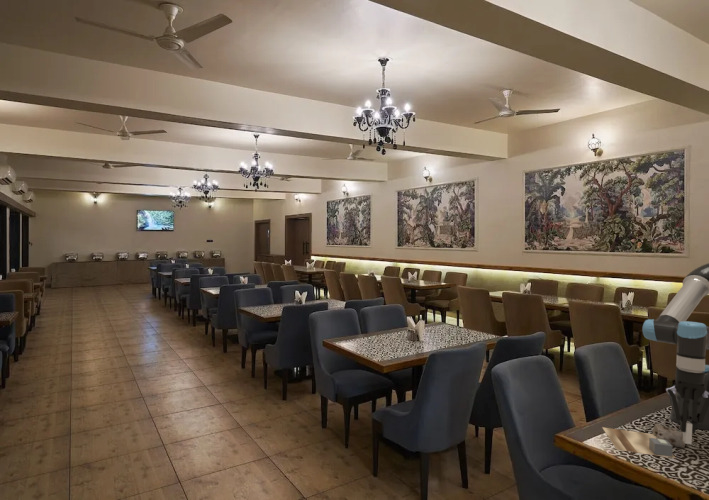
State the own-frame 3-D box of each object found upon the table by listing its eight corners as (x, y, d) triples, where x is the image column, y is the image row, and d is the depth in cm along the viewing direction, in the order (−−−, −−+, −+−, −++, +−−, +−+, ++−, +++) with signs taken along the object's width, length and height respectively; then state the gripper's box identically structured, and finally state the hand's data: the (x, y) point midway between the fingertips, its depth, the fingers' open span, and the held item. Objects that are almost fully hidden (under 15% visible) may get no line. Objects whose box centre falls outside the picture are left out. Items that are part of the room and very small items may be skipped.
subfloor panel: (654, 436, 162) (654, 434, 162) (676, 460, 143) (676, 458, 143) (602, 429, 167) (602, 427, 167) (616, 451, 148) (616, 449, 148)
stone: (653, 422, 165) (686, 429, 159) (652, 438, 164) (686, 446, 158) (650, 424, 155) (686, 432, 149) (649, 441, 154) (685, 450, 148)
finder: (666, 450, 149) (666, 439, 149) (672, 457, 144) (672, 445, 144) (649, 448, 150) (649, 436, 150) (654, 454, 145) (654, 442, 145)
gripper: (708, 369, 146) (705, 441, 146) (662, 364, 150) (659, 434, 150) (719, 375, 139) (716, 450, 139) (671, 370, 143) (668, 443, 143)
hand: (686, 442), depth 145 cm, fingers closed
